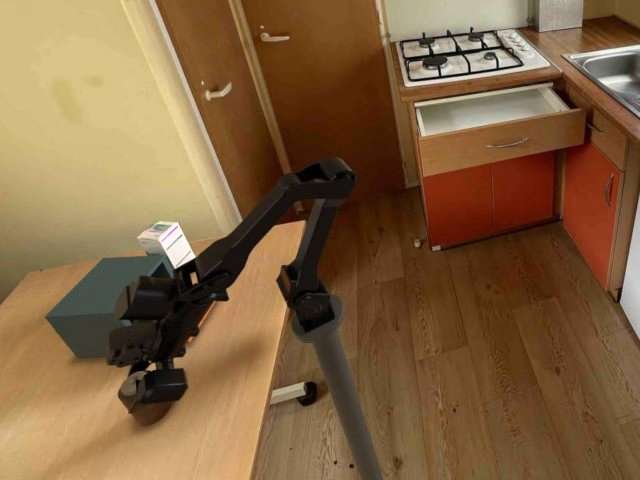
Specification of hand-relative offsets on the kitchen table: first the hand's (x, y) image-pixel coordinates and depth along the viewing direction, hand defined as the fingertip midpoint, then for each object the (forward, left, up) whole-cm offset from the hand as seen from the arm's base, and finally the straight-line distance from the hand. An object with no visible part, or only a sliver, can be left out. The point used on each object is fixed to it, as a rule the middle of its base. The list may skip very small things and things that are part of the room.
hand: (130, 396), depth 73 cm
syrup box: (-4, -35, -7) cm, 36 cm away
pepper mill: (-1, 0, -7) cm, 7 cm away
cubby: (+3, -24, -7) cm, 25 cm away
